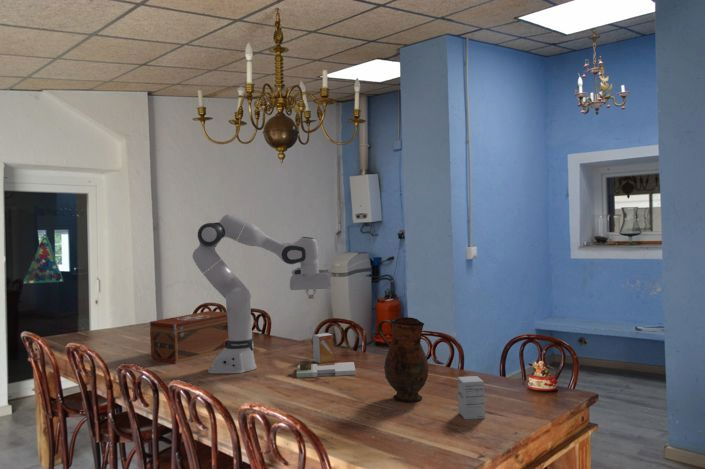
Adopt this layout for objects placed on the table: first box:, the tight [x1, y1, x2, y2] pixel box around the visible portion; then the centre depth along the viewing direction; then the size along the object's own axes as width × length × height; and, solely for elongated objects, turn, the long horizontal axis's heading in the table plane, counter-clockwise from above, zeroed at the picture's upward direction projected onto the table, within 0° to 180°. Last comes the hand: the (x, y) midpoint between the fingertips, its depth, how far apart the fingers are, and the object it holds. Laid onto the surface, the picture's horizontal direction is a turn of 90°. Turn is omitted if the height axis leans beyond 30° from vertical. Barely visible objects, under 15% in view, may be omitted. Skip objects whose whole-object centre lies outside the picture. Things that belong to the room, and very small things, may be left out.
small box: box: [312, 332, 335, 364], centre depth 295 cm, size 8×6×13 cm
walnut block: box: [299, 357, 312, 370], centre depth 273 cm, size 5×5×4 cm
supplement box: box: [457, 375, 486, 420], centre depth 205 cm, size 7×7×13 cm
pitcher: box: [377, 316, 429, 403], centre depth 229 cm, size 17×21×30 cm
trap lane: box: [296, 361, 357, 379], centre depth 273 cm, size 26×16×2 cm, turn 93°
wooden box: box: [149, 310, 228, 365], centre depth 323 cm, size 20×41×20 cm, turn 145°
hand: (311, 298), depth 292 cm, fingers closed
